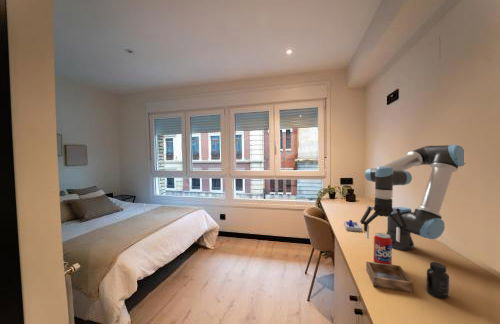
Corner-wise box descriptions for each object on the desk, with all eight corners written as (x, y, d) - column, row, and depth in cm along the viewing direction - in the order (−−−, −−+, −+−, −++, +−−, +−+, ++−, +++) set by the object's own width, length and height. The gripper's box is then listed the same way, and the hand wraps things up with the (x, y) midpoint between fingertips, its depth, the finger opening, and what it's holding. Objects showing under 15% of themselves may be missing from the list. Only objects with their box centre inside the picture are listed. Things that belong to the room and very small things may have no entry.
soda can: (383, 259, 113) (383, 231, 113) (395, 267, 105) (396, 237, 105) (369, 261, 112) (370, 232, 111) (381, 269, 104) (382, 238, 104)
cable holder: (354, 229, 157) (354, 223, 157) (348, 228, 159) (349, 223, 159) (354, 225, 164) (354, 220, 164) (349, 225, 166) (349, 219, 166)
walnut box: (399, 274, 100) (399, 265, 99) (412, 293, 86) (413, 283, 86) (366, 269, 104) (366, 261, 104) (373, 286, 90) (373, 277, 90)
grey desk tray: (357, 225, 166) (357, 222, 166) (361, 232, 153) (361, 228, 153) (343, 224, 169) (344, 221, 169) (346, 230, 156) (346, 226, 156)
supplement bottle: (421, 289, 89) (422, 260, 88) (436, 288, 89) (437, 259, 89) (437, 300, 82) (438, 269, 81) (453, 299, 82) (454, 268, 82)
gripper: (409, 197, 107) (408, 239, 108) (354, 194, 115) (353, 233, 115) (416, 200, 100) (414, 245, 101) (357, 197, 107) (356, 239, 108)
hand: (382, 239), depth 108 cm, fingers open, 13 cm apart
